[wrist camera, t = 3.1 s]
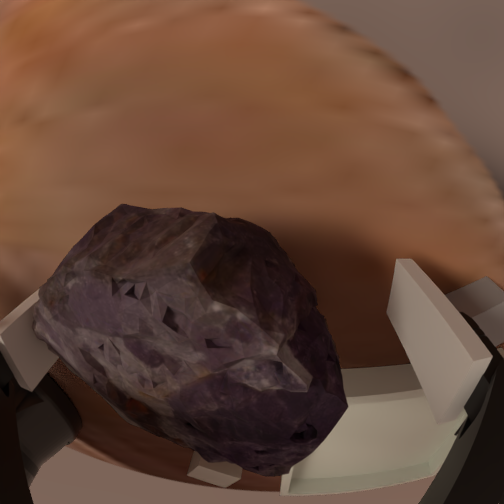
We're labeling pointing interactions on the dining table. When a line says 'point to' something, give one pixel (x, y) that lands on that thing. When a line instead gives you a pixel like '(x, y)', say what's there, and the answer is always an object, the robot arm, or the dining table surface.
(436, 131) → the dining table surface
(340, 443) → the dish
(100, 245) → the rock
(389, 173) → the dining table surface
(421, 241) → the dining table surface
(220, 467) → the matte grey cube
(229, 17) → the dining table surface
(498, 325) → the squat grey cube
